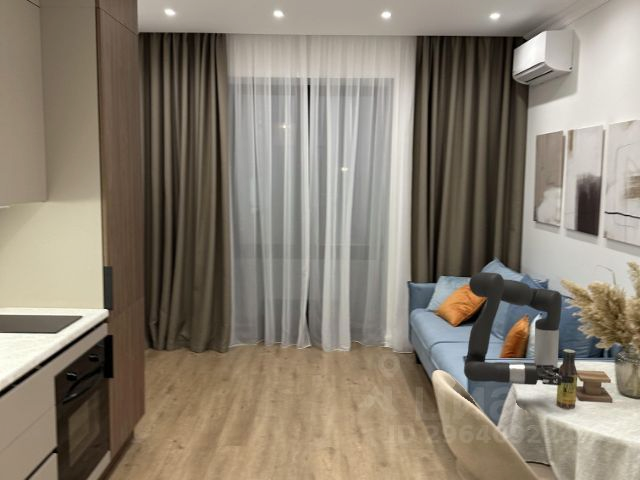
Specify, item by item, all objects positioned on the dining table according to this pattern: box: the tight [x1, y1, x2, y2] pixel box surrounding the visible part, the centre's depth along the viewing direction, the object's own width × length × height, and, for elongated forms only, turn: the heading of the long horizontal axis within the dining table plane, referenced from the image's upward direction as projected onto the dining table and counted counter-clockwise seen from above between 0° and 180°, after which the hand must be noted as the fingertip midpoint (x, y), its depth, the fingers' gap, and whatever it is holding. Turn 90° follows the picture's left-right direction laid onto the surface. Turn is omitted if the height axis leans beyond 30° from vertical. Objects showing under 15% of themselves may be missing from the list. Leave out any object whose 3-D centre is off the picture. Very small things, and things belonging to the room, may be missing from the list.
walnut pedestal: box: [576, 369, 613, 404], centre depth 218 cm, size 11×11×8 cm
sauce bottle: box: [556, 348, 578, 409], centre depth 209 cm, size 7×6×20 cm
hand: (570, 375), depth 209 cm, fingers open, 8 cm apart
